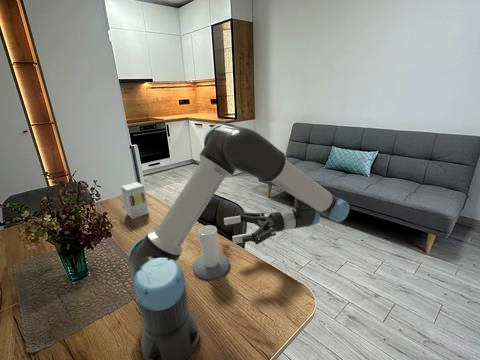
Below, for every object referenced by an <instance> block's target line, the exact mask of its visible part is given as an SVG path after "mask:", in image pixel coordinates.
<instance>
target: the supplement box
mask: <svg viewBox="0 0 480 360" xmlns="http://www.w3.org/2000/svg"><path fill="white" fill-rule="evenodd" d="M120 188H121V194H122V199H123V203H124V206H125V207H124V208H125V212H126V215H127V216H129V217H130V218H131V220H134V219H137V218H140V217H142V216H145V215H149V207H148V202H147V197H146V196H147V195H146V190H145V186H144V184H142V183H140V182H138V181H135V182H132V183H129V184H125V185H121V186H120Z"/></svg>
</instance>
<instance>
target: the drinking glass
mask: <svg viewBox="0 0 480 360" xmlns="http://www.w3.org/2000/svg"><path fill="white" fill-rule="evenodd" d="M198 239H199V245H200V251H201V254H202V255H203V260H204V265H205V266H206V267H208V268H212V267H215V266H216V265H217V264H218V253H219V252H218V248H219V239H218V229H217V227H216V226H215V225H208V224H207V225H204V226H201V227H200V228H199V229H198ZM202 255H201V256H202Z"/></svg>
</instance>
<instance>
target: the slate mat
mask: <svg viewBox="0 0 480 360" xmlns="http://www.w3.org/2000/svg"><path fill="white" fill-rule="evenodd" d="M229 269H230V260H229V257H228V256H226V255H225V254H223V253H220V252H218V264H217V265H216V266H215V267H212V268H208V267H206V266H205V265H204V260H203V255H200V256H198V257H197V258H196V259H195V260H194V261H193V263H192V272H193V274H194V275H195V276H196V277H197V278H199V279H202V280H215V279H218V278H221V277H222V276H224V275H225V274H226V273H227V272H228V270H229Z"/></svg>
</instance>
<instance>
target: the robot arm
mask: <svg viewBox="0 0 480 360" xmlns="http://www.w3.org/2000/svg"><path fill="white" fill-rule="evenodd" d="M203 139H204V140H203V149H202V150H201V151H200V153H199V162H200V163H199V165H197V167H196V169H195V171H194V172H193V174H192V175H191V177H190V178H189V180H188V181H187V183H186V184H185V185H184V187H183V189H181V192H180V193H179V195H178V196H177V198H176V199H175V200H174V202H173V203H172V205H171V206H170V208H169V209H168V211H167V212H166V215H165V216H164V217H163V218H162V221H161V222H160V224H159V225H158V227H157V228H156V229H155V230H151V231H148V232H147V233H146V234H145V235H146V236H144V237H142V238H140V239H137V241H135V242H134V244H132V246H131V248H130V250H129V253H128V261H127V262H128V268H129V272H130V275H131V280H132V284H133V293H134V296H135V298H136V301H137V304H138V308H139V313H140V316H141V321H142V325H143V329H142V330H143V331H142V336H141V341H140V342H141V343H140V348H141V351H142V352H141V353H142V355H143V359H144V360H186V359H187V360H188V359H189V358H190V357H192V355H193V354H194V352H195V351H196V349H197V346H198V345H199V340H200V330H199V325H198V323H197V320H196V319H195V318H194V316H193V315H192V313H191V312H190V309H189V303H188V302H189V301H188V296H187V288H186V280H185V279H186V278H185V274H184V272H183V269H182V266H181V265H180V264H179V263H178V262H177V261H178V260H179V258H180V256H182V253H183V248H182V244H183V243H184V242H185V240H186V238H187V236H188V235H189V233H190V232H191V230H192V228H193V227H194V226H195V224H196V223H197V221H198V220H199V218H200V216H201V215H202V213H203V212H204V210H205V209H206V207H207V205H208V204H209V203H210V201H211V200H212V198H213V197H214V196H215V193H216V192H217V190H218V189H219V187H220V186H221V184H222V182H223V181H224V180H225V179H227V178H230V177H233V175H234V174H235V172H236V171H239V172H242V173H245V174H247V175H250V176H252V177H254V178H257V179H258V180H260V181H262V182H264V183H272V184H274V186H276V187H278V188H280V189H281V190H283V191H285V192H286V193H288V194H289V195H291V196H293V197H294V208H292V209H287V210H281V211H277V212H271V213H270V214H269V215H268V216H265V213H264V212H245V211H243V212H241V211H240V213H239V215H236V216H230V217H229V216H228V217H224V218H223V222H224V226H228V225H233V224H241V223H242V222H244V223H249V224H254V225H256V226H257V227H258V229H256V230H255V231H254V232H249V233H242V234H237V235H232V236H231V237H232V244H233V245H236V244H241V243H248V242H253V243H254V244H255V245H258V244H261V243H262V242H264V241H266V240H267V239H270V238H271V237H275V236H276V235H277V233H279V232H283V231H288V230H294V229H299V228H305V227H308V228H309V227H311V226H315V225H317V224H319V223H320V220H321V215H322V216H323V217H325V218H328V219H329V220H332V221H334V222H337V223H340V222H343V221H344V220H346V218H347V217H348V215H349V213H350V209H351V208H350V204H349V203H348V202H347V201H345V200H343V199H342V198H340V197H337V196H335V195H334V194H332V193H331V192H330V191H328V190H327V188H325V187H323V186H322V185H320V183H318V182H316V181H315V180H314V179H313V178H311V177H310V176H308V175H307V174H306V173H304V172H303V171H302V170H301V169H299V168H298V167H297V166H295V165H294V164H292V163H291V162H290V161H289V160H287V157H286V155H285V153H284V152H283V151H281V150H280V149H279V148H277V147H276V146H275V145H274V144H273V143H271V142H270V141H269V140H268V139H267V138H265V137H263V136H262V135H261V134H260V133H258V132H257V131H255V130H253V129H250V128H246V127H241V126H237V125H235V124H232V123H220V124H217V125H214V126H212V127H211V128H210V129H209V130H208V131H207V132H206V134H205V136H204V138H203Z"/></svg>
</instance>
